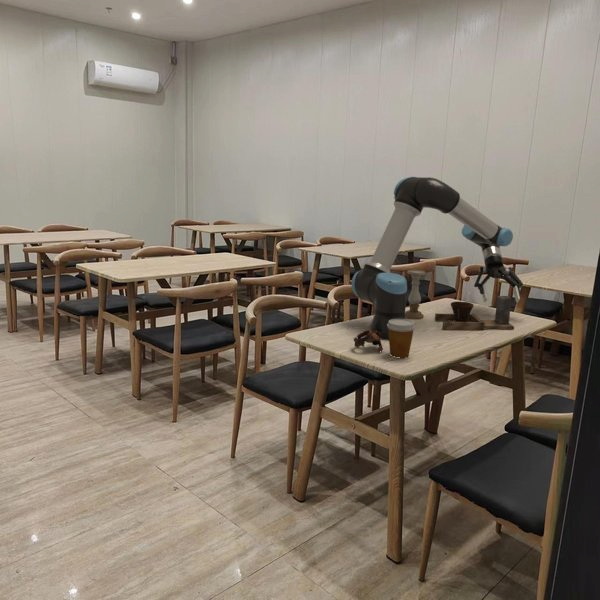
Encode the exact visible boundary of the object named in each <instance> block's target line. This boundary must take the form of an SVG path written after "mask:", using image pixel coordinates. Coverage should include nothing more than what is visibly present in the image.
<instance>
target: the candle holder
mask: <svg viewBox="0 0 600 600" xmlns="http://www.w3.org/2000/svg"><path fill="white" fill-rule="evenodd" d="M406 272H407V274H408V275H411V278H412V281H411V283H410V284H411V292H410V293H409V295H408V302H409V304H408V307H409V310H407V311H406V310H405V318H406V319H409V318H411V320H421V318H422V319H424V317H425V315H424V314H423V312H422V311H419V308H420V307H421V305H420V304H421V301H422V297H421V294H420V291H419V290H420V289H419V288H420V287H419V286H420V285H421V282H420V279H421V277H422V275H423V276H424V275H426V271H424V270H422V269H421V270H420V269H410V270H407V271H406Z"/></svg>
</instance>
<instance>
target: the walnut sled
mask: <svg viewBox="0 0 600 600" xmlns="http://www.w3.org/2000/svg"><path fill="white" fill-rule="evenodd" d="M496 298H497V299H496V305H495V317H494V319H481V318H479V317H478V316H477V315H476V314H475V313H470V315H469V317H468V320H467V322H455V321H454V313H434V321H435V322H442V325H441V326H442V328H441V330H450V331H451V330H456V331H457V330H458V331H461V330H463V331H484V330H485V329H486V330H514V329H515V326H514V325H513V324H511V323H510V317H511V316H510V315H511V306H512V298H511V297H510V296H508V295H497V297H496Z"/></svg>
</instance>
